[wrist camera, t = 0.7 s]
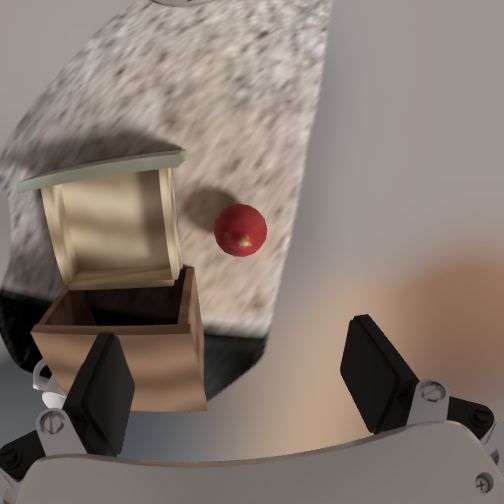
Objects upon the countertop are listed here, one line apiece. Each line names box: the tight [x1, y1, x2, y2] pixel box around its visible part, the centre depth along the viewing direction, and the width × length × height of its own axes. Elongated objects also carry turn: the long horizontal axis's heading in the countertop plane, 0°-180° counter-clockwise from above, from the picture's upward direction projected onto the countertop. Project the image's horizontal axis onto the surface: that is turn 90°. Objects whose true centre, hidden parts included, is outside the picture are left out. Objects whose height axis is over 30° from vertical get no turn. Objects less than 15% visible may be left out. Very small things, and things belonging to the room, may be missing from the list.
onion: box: [214, 204, 267, 257], centre depth 32 cm, size 6×6×8 cm
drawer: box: [17, 149, 186, 290], centre depth 30 cm, size 15×19×8 cm
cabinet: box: [31, 268, 207, 412], centre depth 33 cm, size 12×19×14 cm
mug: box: [33, 358, 67, 409], centre depth 36 cm, size 10×7×12 cm, turn 63°
